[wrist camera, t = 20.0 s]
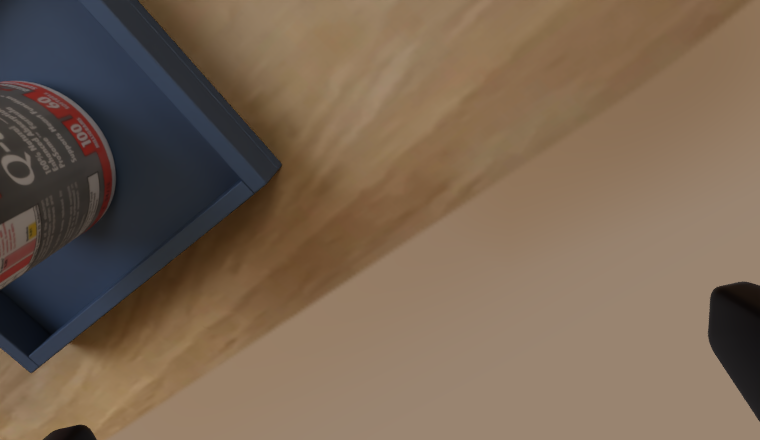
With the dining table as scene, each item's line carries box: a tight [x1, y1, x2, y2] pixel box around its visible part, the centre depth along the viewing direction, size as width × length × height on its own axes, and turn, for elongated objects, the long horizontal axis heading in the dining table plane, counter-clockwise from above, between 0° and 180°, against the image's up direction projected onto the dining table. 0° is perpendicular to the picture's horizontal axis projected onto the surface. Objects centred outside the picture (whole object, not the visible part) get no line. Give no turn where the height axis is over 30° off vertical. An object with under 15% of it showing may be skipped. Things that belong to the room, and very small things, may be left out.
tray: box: [0, 0, 282, 373], centre depth 19 cm, size 13×11×2 cm
